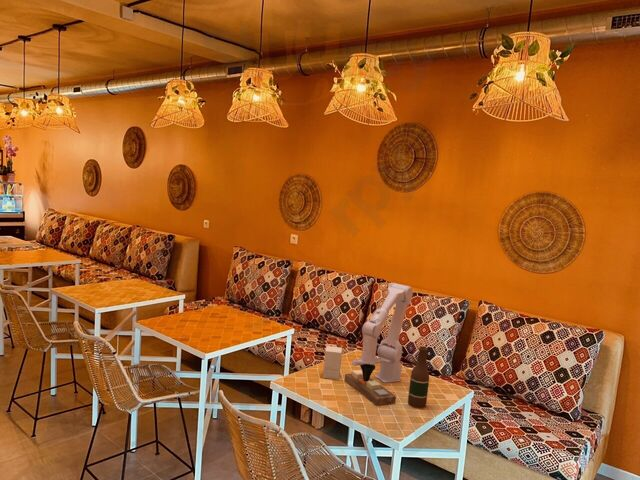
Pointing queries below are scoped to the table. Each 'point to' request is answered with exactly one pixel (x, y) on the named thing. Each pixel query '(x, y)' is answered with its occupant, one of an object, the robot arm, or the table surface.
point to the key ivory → (357, 374)
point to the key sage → (373, 385)
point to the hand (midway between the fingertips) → (365, 380)
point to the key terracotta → (363, 381)
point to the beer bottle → (419, 381)
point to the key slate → (381, 393)
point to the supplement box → (332, 362)
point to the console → (370, 392)
